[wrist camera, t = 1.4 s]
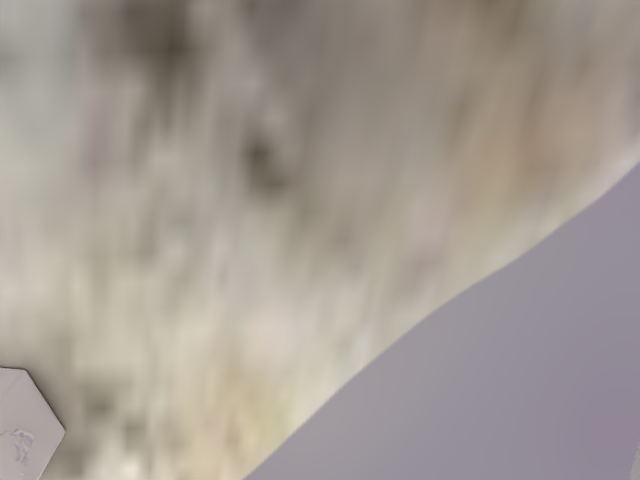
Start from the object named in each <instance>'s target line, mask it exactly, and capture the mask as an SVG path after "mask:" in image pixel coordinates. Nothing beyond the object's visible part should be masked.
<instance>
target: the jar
mask: <svg viewBox="0 0 640 480" xmlns="http://www.w3.org/2000/svg"><path fill="white" fill-rule="evenodd" d="M64 435H65V430H64V428H63V427H62V425H61V424H60V422H59V421H58V419H57V418H56V416H55V415H54V413H53V412H52V410H51V409H50V407H49V405H48V404H47V402H46V401H45V399H44V398H43V396H42V395H41V393H40V392H39V390H38V389H37V387H36V386H35V384H34V382H33V381H32V379H31V378H30V376H29V375H28V373H27V372H26V371H25V370H21V369H9V368H0V480H39V478H40V477H41V475H42V473H43V471H44V470H45V468H46V466H47V465H48V463H49V461H50V459H51V458H52V456H53V454H54V452H55V451H56V449H57V447H58V445H59V444H60V442H61V440H62V439H63V437H64Z"/></svg>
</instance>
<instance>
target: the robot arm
mask: <svg viewBox="0 0 640 480" xmlns="http://www.w3.org/2000/svg"><path fill="white" fill-rule="evenodd" d="M629 480H640V438H639V442H638V446H637V450H636V454H635V458H634V463H633V467H632V471H631V475H630V479H629Z"/></svg>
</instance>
